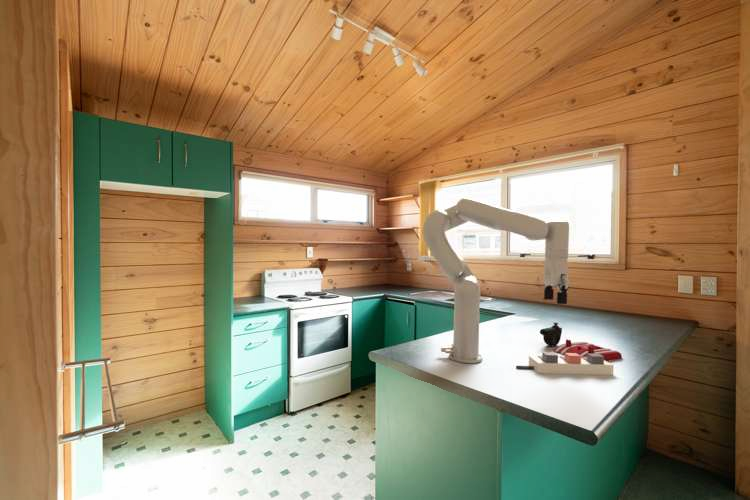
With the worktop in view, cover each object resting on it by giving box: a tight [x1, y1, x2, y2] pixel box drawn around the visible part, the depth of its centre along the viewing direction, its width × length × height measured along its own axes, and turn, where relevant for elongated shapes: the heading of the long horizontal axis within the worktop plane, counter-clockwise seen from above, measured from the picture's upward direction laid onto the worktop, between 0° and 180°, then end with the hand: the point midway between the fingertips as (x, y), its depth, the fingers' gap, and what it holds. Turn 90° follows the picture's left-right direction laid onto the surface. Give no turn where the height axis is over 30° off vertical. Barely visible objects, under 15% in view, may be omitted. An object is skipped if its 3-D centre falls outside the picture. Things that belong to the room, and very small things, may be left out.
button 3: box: [587, 353, 604, 365], centre depth 127 cm, size 4×3×3 cm
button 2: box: [565, 353, 581, 364], centre depth 127 cm, size 4×3×3 cm
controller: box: [539, 322, 563, 347], centre depth 159 cm, size 4×12×10 cm, turn 122°
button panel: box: [515, 355, 614, 376], centre depth 129 cm, size 32×8×4 cm, turn 89°
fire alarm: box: [552, 338, 623, 362], centre depth 147 cm, size 16×6×20 cm
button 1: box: [541, 351, 559, 363], centre depth 127 cm, size 4×3×3 cm
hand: (555, 301), depth 130 cm, fingers open, 9 cm apart
